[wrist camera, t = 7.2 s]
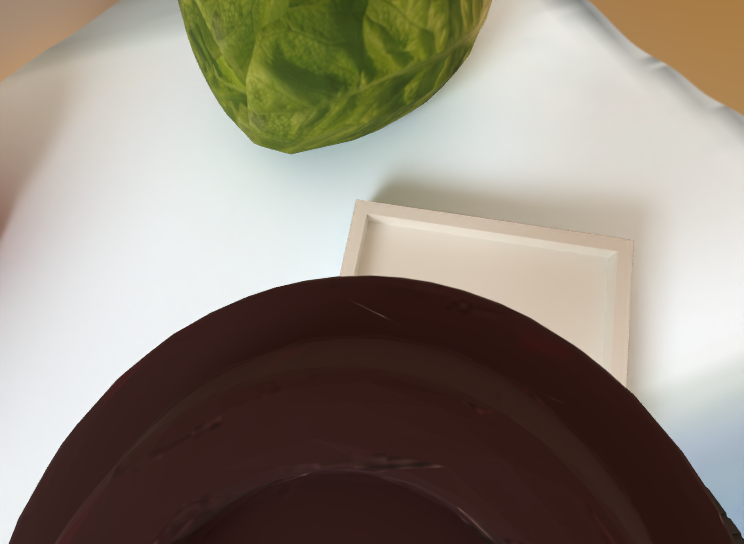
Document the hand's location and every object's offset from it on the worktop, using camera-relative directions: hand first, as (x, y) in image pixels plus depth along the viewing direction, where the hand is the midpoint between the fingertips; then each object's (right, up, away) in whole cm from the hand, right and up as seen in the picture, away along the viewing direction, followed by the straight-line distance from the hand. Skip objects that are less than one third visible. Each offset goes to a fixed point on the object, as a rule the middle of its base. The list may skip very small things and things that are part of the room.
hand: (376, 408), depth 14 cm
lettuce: (-1, +21, +29) cm, 36 cm away
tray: (+7, -1, +21) cm, 22 cm away
